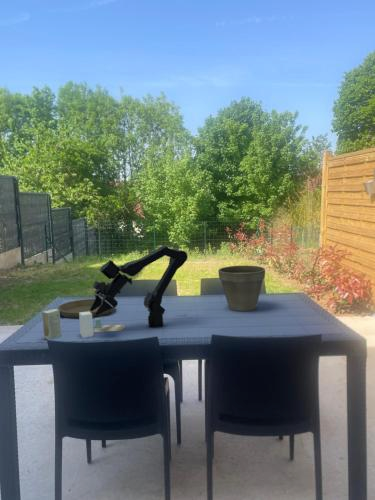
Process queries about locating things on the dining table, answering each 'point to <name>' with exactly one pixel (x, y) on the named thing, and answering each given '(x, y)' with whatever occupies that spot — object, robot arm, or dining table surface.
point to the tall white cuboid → (86, 324)
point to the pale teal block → (98, 322)
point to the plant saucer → (80, 308)
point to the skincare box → (51, 323)
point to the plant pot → (242, 286)
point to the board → (109, 328)
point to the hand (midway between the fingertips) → (93, 312)
